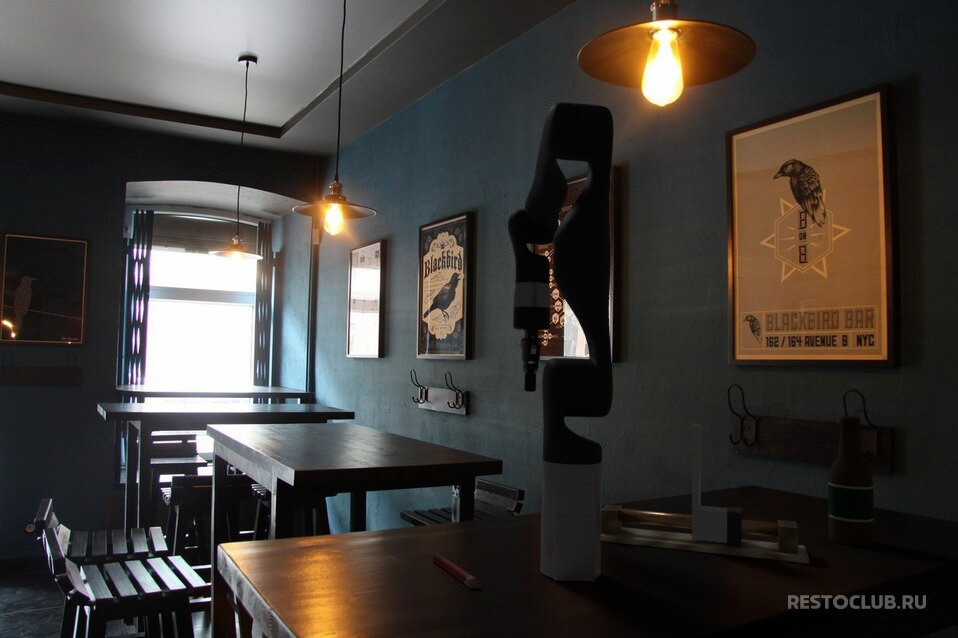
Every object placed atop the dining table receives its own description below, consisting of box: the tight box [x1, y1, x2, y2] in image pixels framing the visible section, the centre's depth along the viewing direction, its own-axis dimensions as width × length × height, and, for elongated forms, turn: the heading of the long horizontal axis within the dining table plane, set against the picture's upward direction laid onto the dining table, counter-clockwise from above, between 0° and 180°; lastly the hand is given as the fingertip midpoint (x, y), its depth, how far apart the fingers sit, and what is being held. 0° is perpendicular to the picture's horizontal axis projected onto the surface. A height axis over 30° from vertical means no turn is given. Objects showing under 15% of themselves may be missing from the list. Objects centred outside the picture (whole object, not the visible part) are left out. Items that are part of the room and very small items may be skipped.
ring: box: [726, 506, 743, 546], centre depth 128 cm, size 2×6×6 cm, turn 160°
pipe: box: [618, 508, 779, 538], centre depth 130 cm, size 32×3×3 cm, turn 70°
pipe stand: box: [601, 504, 810, 564], centre depth 130 cm, size 37×9×5 cm, turn 70°
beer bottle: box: [827, 415, 875, 547], centre depth 137 cm, size 8×8×24 cm
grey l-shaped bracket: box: [691, 423, 728, 543], centre depth 130 cm, size 6×6×20 cm
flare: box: [432, 552, 482, 590], centre depth 108 cm, size 2×15×2 cm, turn 25°
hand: (530, 391), depth 144 cm, fingers closed
